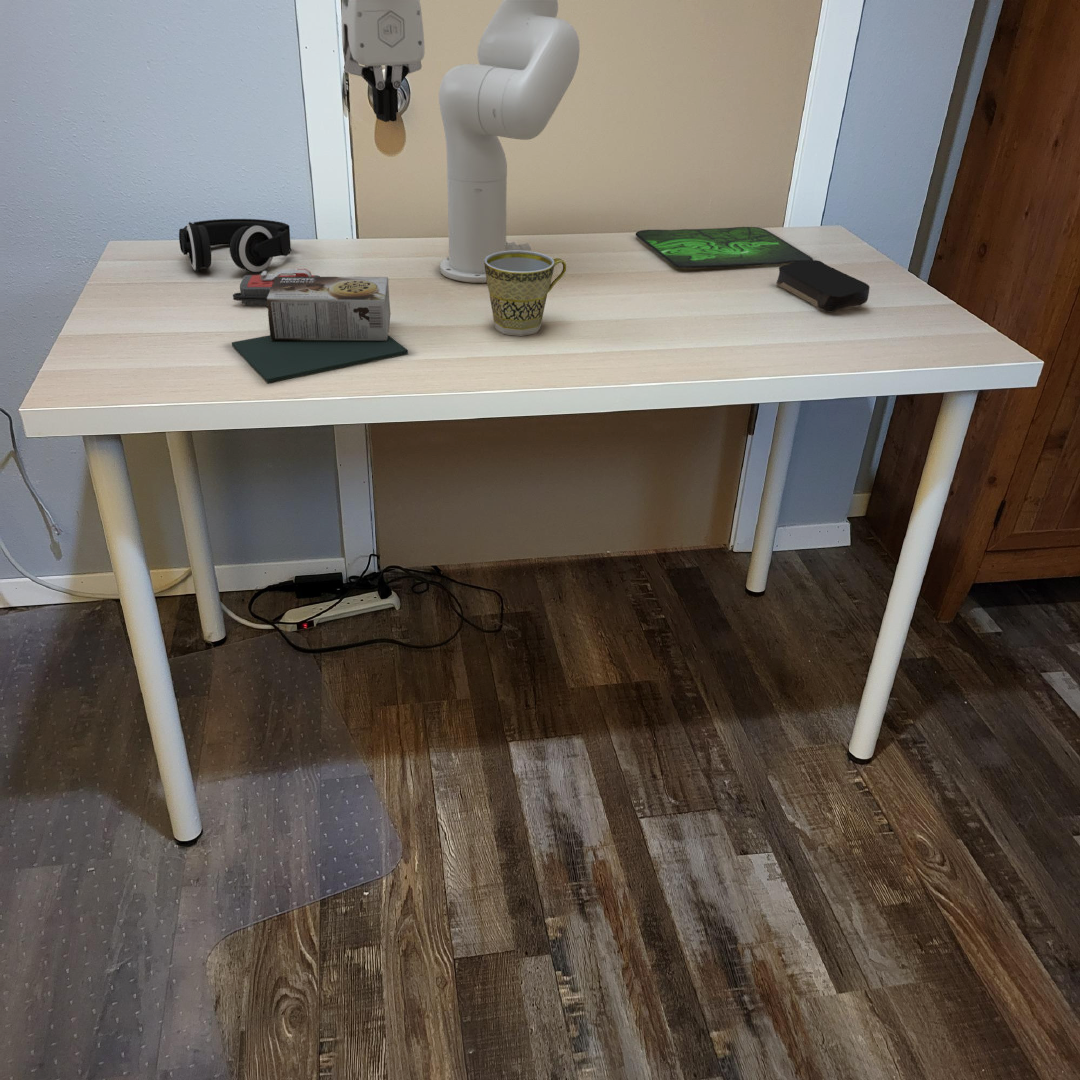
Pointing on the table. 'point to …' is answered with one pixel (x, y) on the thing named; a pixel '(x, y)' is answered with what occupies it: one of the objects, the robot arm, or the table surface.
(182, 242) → the headphones
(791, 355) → the table surface
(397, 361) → the table surface
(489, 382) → the table surface
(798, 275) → the black flat block
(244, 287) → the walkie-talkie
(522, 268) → the ceramic cup
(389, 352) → the mat
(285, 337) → the coffee box
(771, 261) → the mouse mat
